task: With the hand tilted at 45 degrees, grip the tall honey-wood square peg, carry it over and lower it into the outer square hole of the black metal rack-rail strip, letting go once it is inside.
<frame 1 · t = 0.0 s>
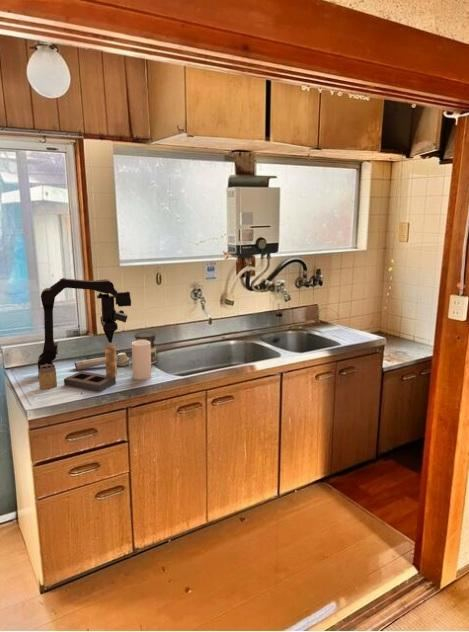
hand: (109, 340, 215), 15 cm above the counter, tool pointing down, fingers open, 9 cm apart
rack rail: (97, 385, 199), on the counter
wood peg: (111, 375, 211), on the counter
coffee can: (145, 361, 232), on the counter
cup: (142, 376, 211), on the counter
wooden mallet: (102, 367, 223), on the counter
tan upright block: (48, 387, 196), on the counter
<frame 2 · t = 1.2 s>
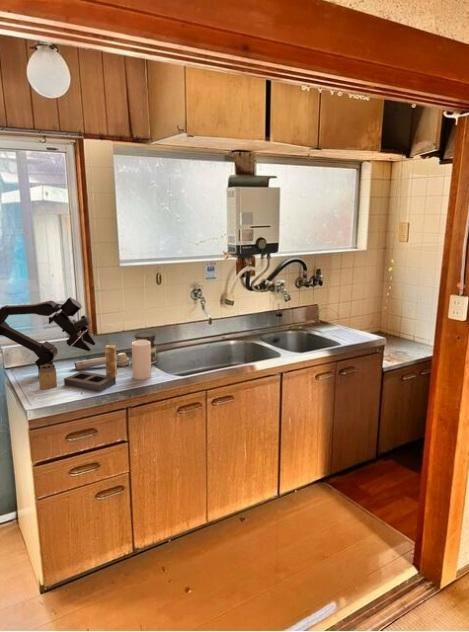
hand: (92, 347, 208), 13 cm above the counter, tool tilted 45°, fingers open, 9 cm apart
nothing on the counter moved.
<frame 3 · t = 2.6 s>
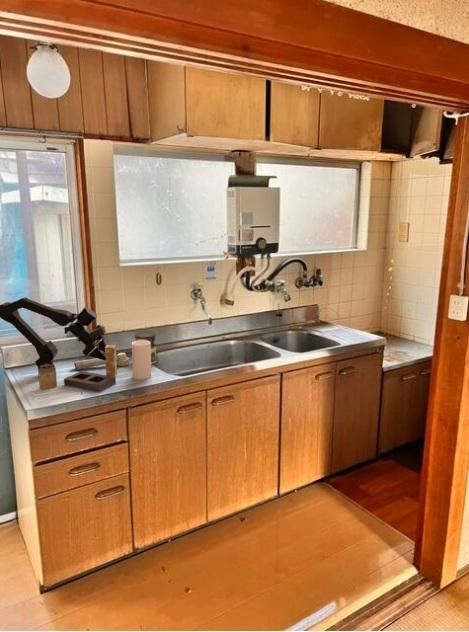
hand: (108, 356, 209), 9 cm above the counter, tool tilted 45°, fingers open, 9 cm apart
nothing on the counter moved.
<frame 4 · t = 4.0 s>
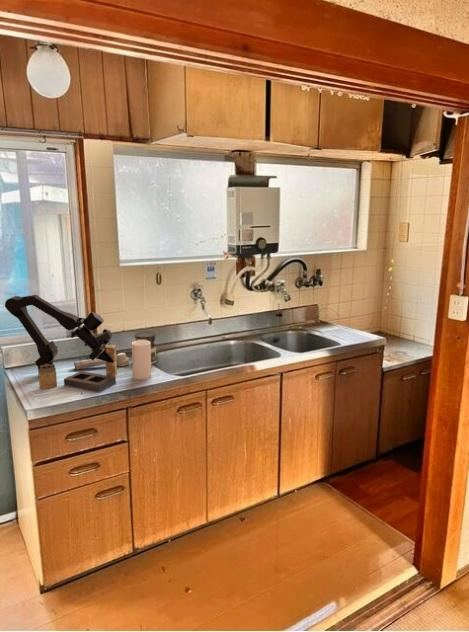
hand: (114, 360, 210), 7 cm above the counter, tool tilted 45°, fingers closed on wood peg, 4 cm apart
wood peg: (111, 375, 211), on the counter, touching gripper
everything else where it was.
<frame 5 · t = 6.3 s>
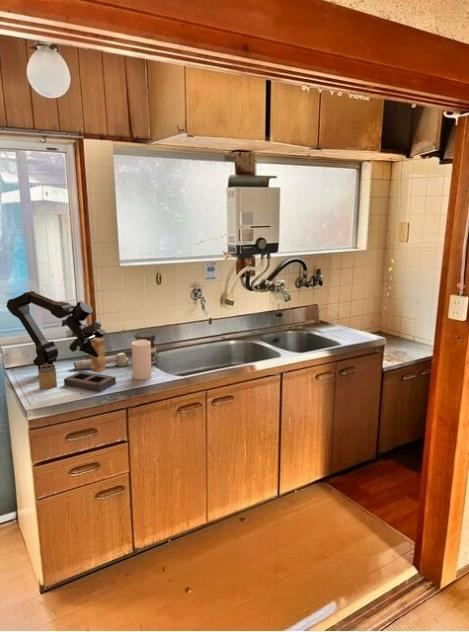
hand: (100, 355, 196), 13 cm above the counter, tool tilted 45°, fingers closed on wood peg, 4 cm apart
wood peg: (98, 370, 199), point 6 cm above the counter, touching gripper
everything else where it was.
when the fingers open (8 cm above the counter, at t = 8.4 s): wood peg drops 1 cm, resting in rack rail.
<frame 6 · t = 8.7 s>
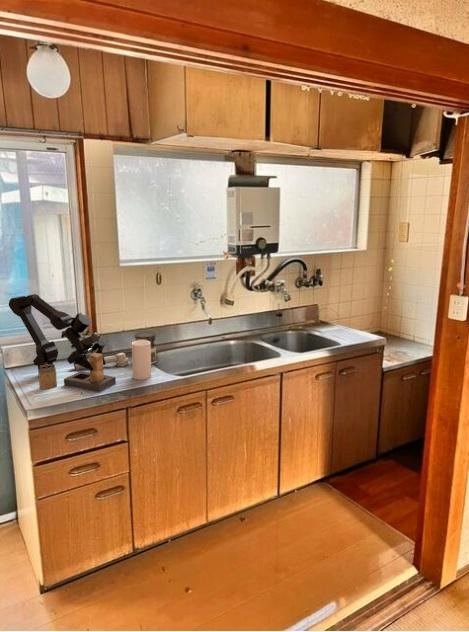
hand: (99, 367, 196), 9 cm above the counter, tool tilted 45°, fingers open, 8 cm apart
wood peg: (97, 385, 199), resting in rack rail
everything else where it was.
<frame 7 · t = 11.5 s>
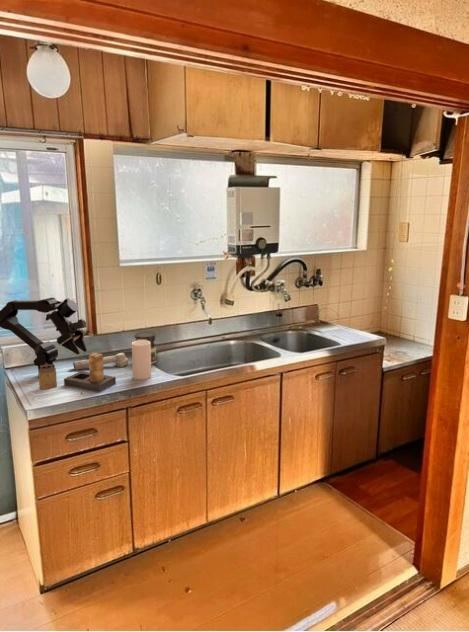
hand: (82, 352, 201), 13 cm above the counter, tool tilted 35°, fingers open, 9 cm apart
nothing on the counter moved.
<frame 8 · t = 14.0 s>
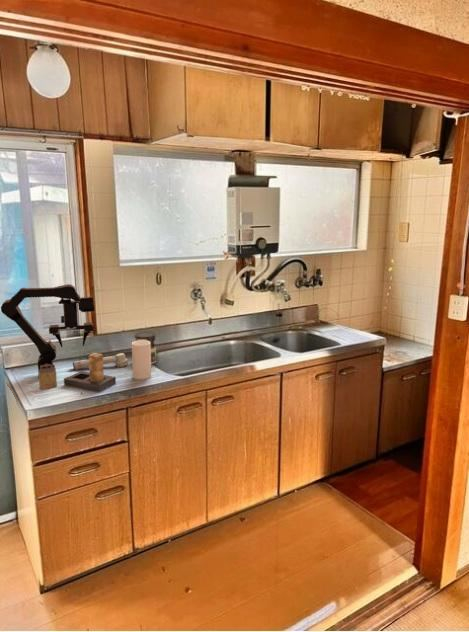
hand: (72, 346, 210), 13 cm above the counter, tool pointing down, fingers open, 9 cm apart
nothing on the counter moved.
at the end: wood peg 0.0 cm off-centre on the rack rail, point 0.0 cm above the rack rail's base; wood peg tilted 0°; the gripper is holding nothing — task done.
